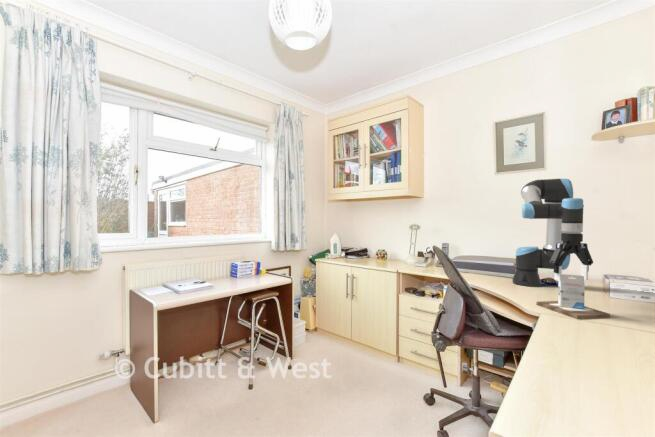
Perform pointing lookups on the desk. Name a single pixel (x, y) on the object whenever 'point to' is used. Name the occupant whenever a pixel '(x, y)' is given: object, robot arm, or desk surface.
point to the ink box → (571, 291)
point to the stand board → (573, 310)
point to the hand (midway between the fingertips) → (571, 279)
